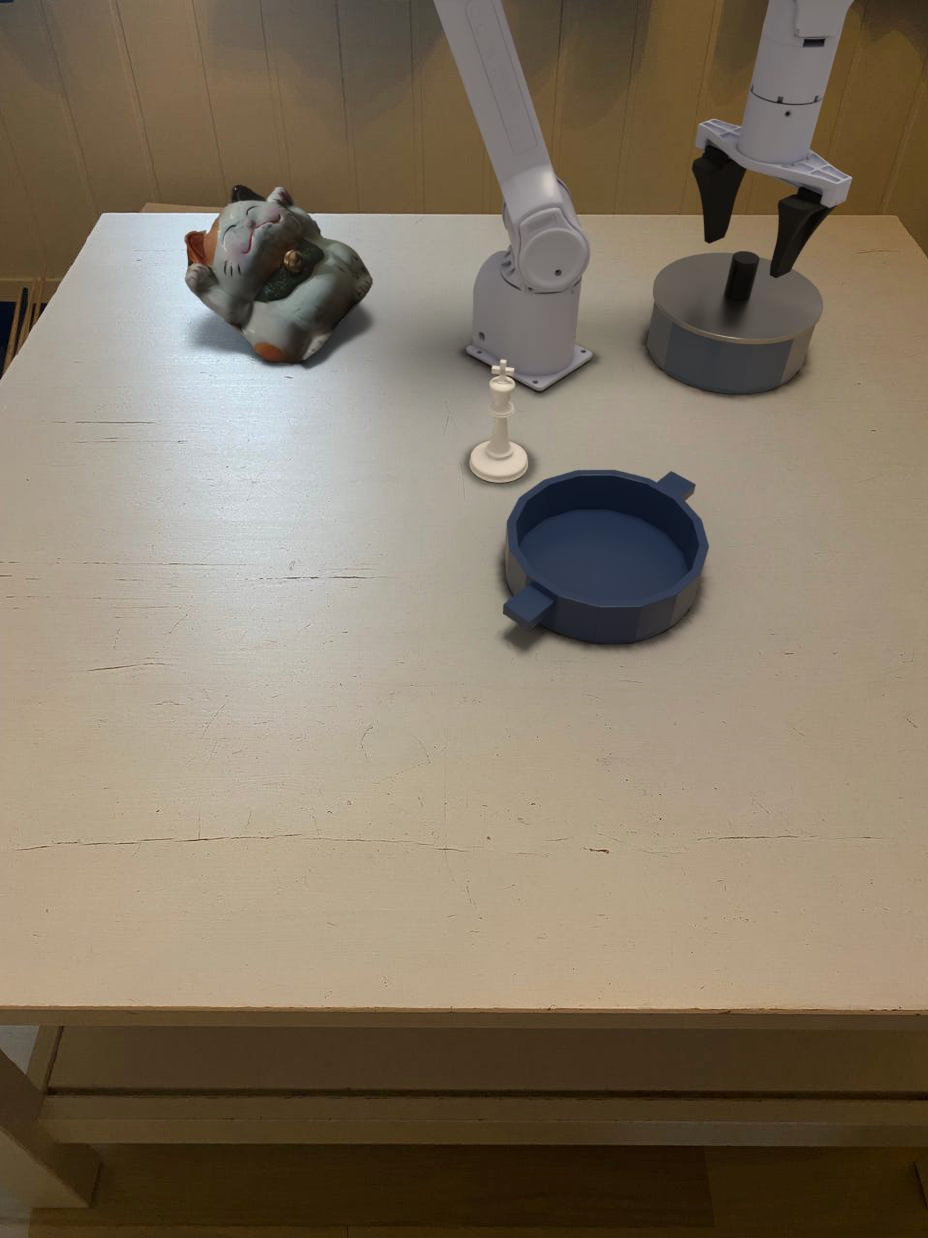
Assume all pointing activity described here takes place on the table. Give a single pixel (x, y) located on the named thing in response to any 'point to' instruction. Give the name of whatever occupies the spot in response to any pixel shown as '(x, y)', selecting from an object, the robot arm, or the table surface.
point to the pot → (723, 358)
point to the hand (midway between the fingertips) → (746, 255)
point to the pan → (604, 555)
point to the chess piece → (500, 435)
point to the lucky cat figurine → (274, 274)
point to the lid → (737, 298)
